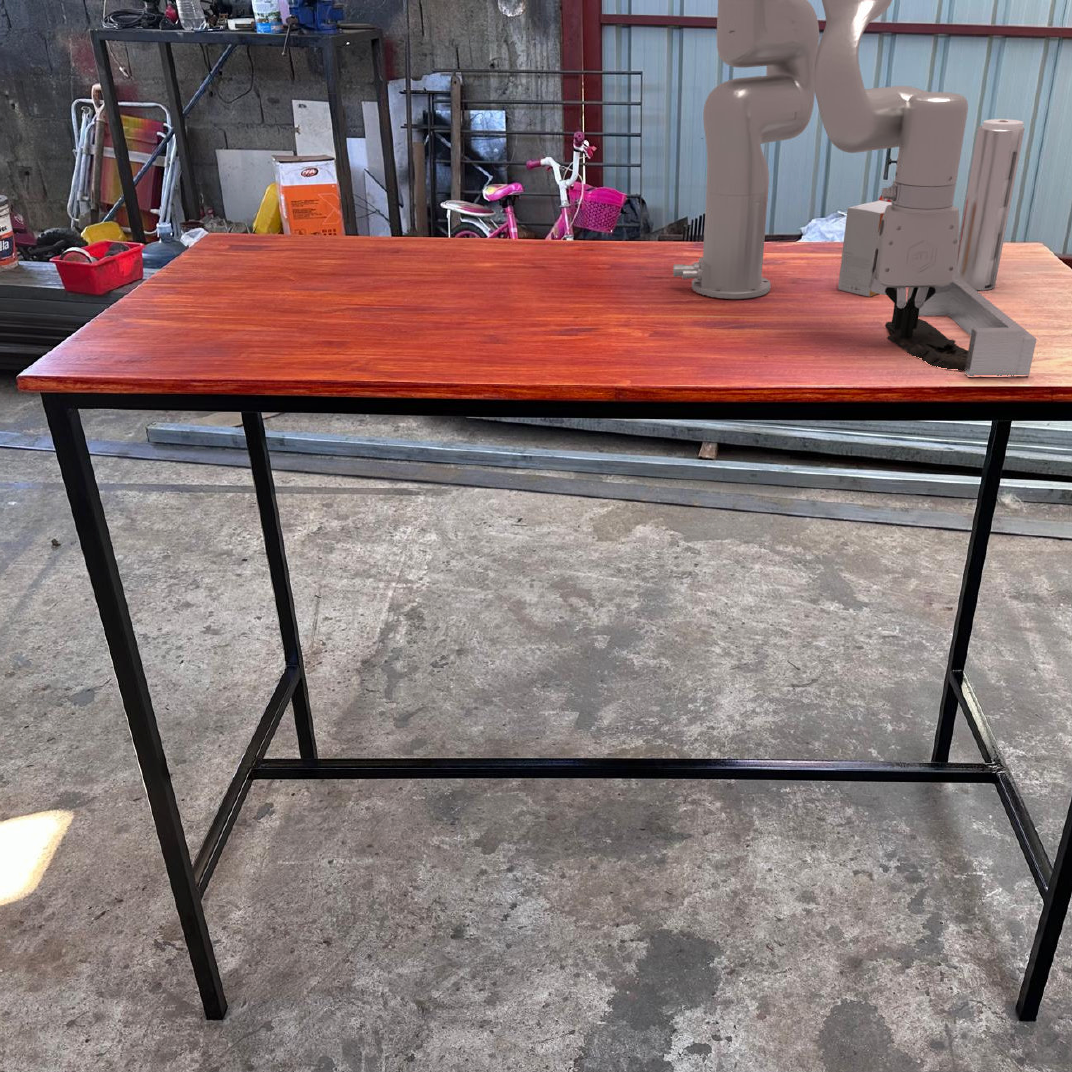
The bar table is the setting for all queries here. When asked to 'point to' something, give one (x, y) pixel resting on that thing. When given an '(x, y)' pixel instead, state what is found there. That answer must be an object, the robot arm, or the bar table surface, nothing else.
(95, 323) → the bar table surface
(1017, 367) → the rack
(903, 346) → the wood
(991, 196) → the silver metal cylinder
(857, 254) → the small box
